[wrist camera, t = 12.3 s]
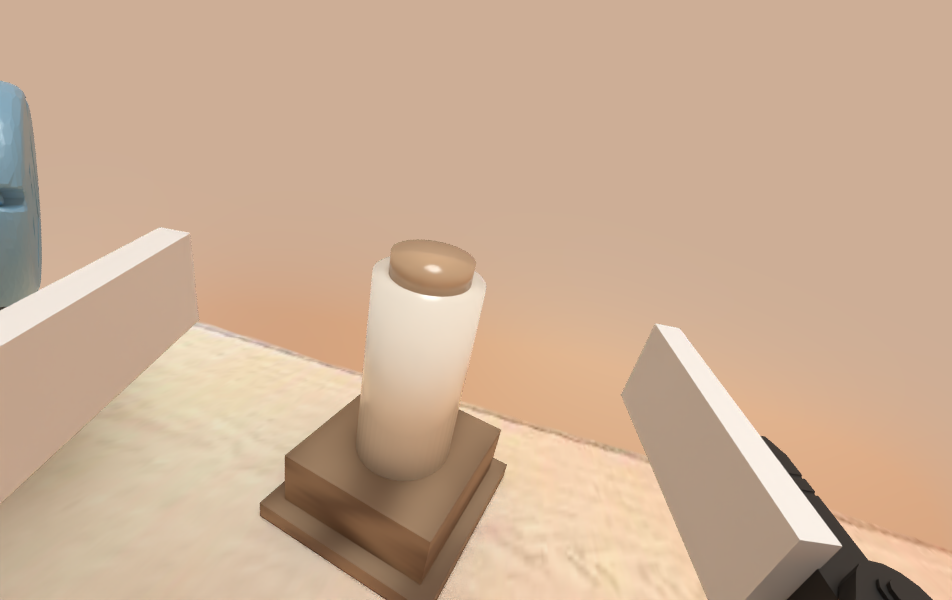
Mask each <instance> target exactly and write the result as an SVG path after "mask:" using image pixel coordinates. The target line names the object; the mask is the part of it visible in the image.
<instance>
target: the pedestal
mask: <svg viewBox="0 0 952 600" xmlns="http://www.w3.org/2000/svg"><path fill="white" fill-rule="evenodd" d="M360 396H361V394H360V395H359V396H357V397H356V398H355V399H354V400H353V401H351V402H350V403H349V404H348V405H346V406H345V407H344V408H343V409H342V410H340V411H339V412H338V413H337V414H335V415H334V416H333V417H332V418H330V419H329V420H328V421H327V422H326V423H324V424H323V425H322V426H321V427H319V428H318V429H317V430H316V431H315V432H313V433H312V434H311V435H310V436H308V437H307V438H306V439H305V440H303V441H302V442H301V443H300V444H299V445H297V446H296V447H295V448H294V449H292V450H291V451H290V452H289V453H288V454H286V455H285V481H284V482H283V483H282V484H281V485H280V486H279V487H277V488H276V489H275V490H274V491H273V492H272V493H271V494H269V495H268V496H267V497H266V498H265V499H264V500H263V501H262V502H260V516H262V517H263V518H265V519H266V520H268V521H269V522H271V523H272V524H274V525H275V526H277V527H278V528H280V529H281V530H283V531H284V532H286V533H287V534H289V535H290V536H292V537H293V538H295V539H296V540H298V541H299V542H301V543H302V544H304V545H305V546H307V547H308V548H310V549H311V550H313V551H314V552H316V553H317V554H319V555H320V556H322V557H323V558H325V559H326V560H328V561H329V562H331V563H332V564H334V565H335V566H337V567H338V568H340V569H341V570H343V571H344V572H346V573H347V574H349V575H350V576H352V577H353V578H355V579H356V580H358V581H359V582H361V583H362V584H364V585H366V586H367V587H369V588H370V589H372V590H373V591H375V592H376V593H378V594H379V595H381V596H382V597H384V598H385V599H387V600H437V598H438V597H439V595H440V593H441V591H442V589H443V587H444V585H445V583H446V582H447V580H448V578H449V576H450V574H451V572H452V570H453V569H454V567H455V565H456V563H457V561H458V559H459V557H460V556H461V554H462V552H463V550H464V548H465V546H466V544H467V543H468V541H469V539H470V537H471V535H472V533H473V531H474V530H475V528H476V526H477V524H478V522H479V520H480V518H481V517H482V515H483V513H484V511H485V509H486V507H487V505H488V503H489V502H490V500H491V498H492V496H493V494H494V492H495V490H496V489H497V487H498V485H499V483H500V481H501V479H502V477H503V476H504V472H505V469H506V466H507V465H506V464H504V463H503V462H501V461H499V460H497V459H495V458H493V456H494V452H495V449H496V445H497V442H498V439H499V435H500V432H501V430H500V429H498V428H496V427H494V426H492V425H490V424H488V423H486V422H484V421H482V420H480V419H478V418H476V417H473V416H471V415H469V414H467V413H465V412H463V411H461V410H458V414H457V419H456V423H455V427H454V432H453V436H452V440H451V445H450V449H449V454H448V456H447V459H446V461H445V462H444V464H443V465H442V466H441V467H440V468H439V469H438V470H437V471H436V472H434V473H433V474H431V475H429V476H427V477H424V478H421V479H417V480H411V481H398V480H392V479H388V478H385V477H382V476H380V475H377V474H376V473H374V472H372V471H371V470H370V469H368V468H367V467H366V466H365V465H364V464H363V462H362V461H361V459H360V458H359V456H358V453H357V450H356V438H357V427H358V417H359V407H360Z"/></svg>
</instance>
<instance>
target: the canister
mask: <svg viewBox="0 0 952 600" xmlns="http://www.w3.org/2000/svg"><path fill="white" fill-rule="evenodd" d="M475 266H476V261H475V259H474V258H473V257H472V256H471V255H470V254H469V253H468V252H466V251H464V250H462V249H460V248H458V247H456V246H453V245H450V244H446V243H442V242H437V241H431V240H407V241H402V242H399V243H397V244H395V245H394V246H393V247H392V248H391V255H390V257H387V258H384V259H382V260H380V261H379V262H377V263H376V264H375V266H374V268H373V273H372V283H371V293H370V303H369V314H368V324H367V335H366V345H365V355H364V366H363V376H362V386H361V396H360V407H359V417H358V427H357V438H356V450H357V453H358V456H359V458H360V459H361V461H362V462H363V464H364V465H365V466H366V467H367V468H368V469H370V470H371V471H372V472H374V473H376V474H377V475H380V476H382V477H385V478H388V479H392V480H398V481H411V480H417V479H421V478H424V477H427V476H429V475H431V474H433V473H434V472H436V471H437V470H438V469H439V468H440V467H441V466H442V465H443V464H444V462H445V461H446V459H447V456H448V454H449V449H450V445H451V440H452V436H453V432H454V427H455V423H456V419H457V414H458V410H459V405H460V401H461V396H462V392H463V388H464V383H465V379H466V374H467V370H468V366H469V362H470V357H471V353H472V349H473V344H474V340H475V335H476V331H477V327H478V322H479V318H480V314H481V309H482V305H483V301H484V296H485V292H486V283H485V281H484V279H483V278H482V277H481V276H480V275H479V274H478V273H477V272H476V271H475Z"/></svg>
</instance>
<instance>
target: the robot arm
mask: <svg viewBox="0 0 952 600" xmlns="http://www.w3.org/2000/svg"><path fill="white" fill-rule="evenodd" d="M25 98H26V97H25V95H24V93H23V91H22V90H20V89H19V88H18V87H17V86H15V85H13V84H10V83H7V82H3V81H0V504H1V503H2V502H3V501H4V500H5V499H6V498H7V497H8V496H10V495H11V494H12V493H13V492H14V491H15V490H16V489H17V488H18V487H19V486H20V485H21V484H22V483H24V482H25V481H26V480H27V479H28V478H29V477H30V476H31V475H32V474H33V473H34V472H35V471H37V470H38V469H39V468H40V467H41V466H42V465H43V464H44V463H45V462H46V461H47V460H48V459H50V458H51V457H52V456H53V455H54V454H55V453H56V452H57V451H58V450H59V449H60V448H61V447H62V446H64V445H65V444H66V443H67V442H68V441H69V440H70V439H71V438H72V437H73V436H74V435H75V434H77V433H78V432H79V431H80V430H81V429H82V428H83V427H84V426H85V425H86V424H87V423H88V422H89V421H91V420H92V419H93V418H94V417H95V416H96V415H97V414H98V413H99V412H100V411H101V410H102V409H104V408H105V407H106V406H107V405H108V404H109V403H110V402H111V401H112V400H113V399H114V398H115V397H116V396H118V395H119V394H120V393H121V392H122V391H123V390H124V389H125V388H126V387H127V386H128V385H129V384H131V383H132V382H133V381H134V380H135V379H136V378H137V377H138V376H139V375H140V374H141V373H142V372H144V371H145V370H146V369H147V368H148V367H149V366H150V365H151V364H152V363H153V362H154V361H155V360H156V359H158V358H159V357H160V356H161V355H162V354H163V353H164V352H165V351H166V350H167V349H168V348H169V347H171V346H172V345H173V344H174V343H175V342H176V341H177V340H178V339H179V338H180V337H181V336H182V335H183V334H185V333H186V332H187V331H188V330H189V329H190V328H191V327H192V326H193V325H194V324H195V323H196V322H198V321H199V316H198V306H197V296H196V286H195V276H194V266H193V256H192V247H191V236H190V233H187V232H182V231H176V230H172V229H167V228H161V227H160V228H158V229H156V230H154V231H152V232H150V233H148V234H146V235H144V236H142V237H140V238H139V239H137V240H135V241H133V242H131V243H129V244H127V245H125V246H123V247H121V248H119V249H117V250H115V251H114V252H112V253H110V254H108V255H106V256H104V257H102V258H100V259H98V260H96V261H94V262H92V263H90V264H89V265H87V266H85V267H83V268H81V269H79V270H77V271H75V272H74V273H72V274H70V275H67V276H66V277H64V278H62V279H60V280H58V281H56V282H54V283H52V284H50V285H48V286H46V287H44V288H43V289H41V290H39V291H38V289H39V287H40V282H41V264H42V252H41V251H42V247H41V219H40V202H39V187H38V176H37V164H36V153H35V144H34V135H33V127H32V120H31V114H30V110H29V106H28V103H27V101H26V99H25ZM621 396H622V398H623V401H624V403H625V406H626V408H627V410H628V413H629V415H630V417H631V420H632V422H633V424H634V427H635V429H636V431H637V434H638V436H639V439H640V441H641V443H642V446H643V448H644V450H645V453H646V455H647V457H648V460H649V462H650V465H651V467H652V469H653V472H654V474H655V476H656V479H657V481H658V483H659V486H660V488H661V490H662V493H663V495H664V498H665V500H666V502H667V505H668V507H669V509H670V512H671V514H672V516H673V519H674V521H675V524H676V526H677V528H678V531H679V533H680V535H681V538H682V540H683V542H684V545H685V547H686V549H687V552H688V554H689V557H690V559H691V561H692V564H693V566H694V568H695V571H696V573H697V575H698V578H699V580H700V582H701V585H702V587H703V590H704V592H705V594H706V597H707V599H708V600H933V599H932V598H931V597H930V596H928V595H927V594H926V593H925V592H924V591H923V590H922V589H921V588H920V587H919V586H918V585H916V584H915V583H914V582H912V581H911V580H910V579H908V578H907V577H905V576H904V575H903V574H901V573H900V572H898V571H896V570H894V569H892V568H890V567H888V566H886V565H884V564H881V563H877V562H873V561H868V559H867V558H866V557H865V555H864V554H863V553H862V552H861V550H860V549H859V548H858V546H857V545H856V544H855V543H854V541H853V540H852V539H851V537H850V536H849V535H848V534H847V532H846V531H845V530H844V528H843V527H842V526H841V525H840V523H839V522H838V521H837V519H836V518H835V517H834V516H833V514H832V513H831V512H830V511H829V509H828V508H827V507H826V505H825V504H824V503H823V502H822V501H821V499H820V498H819V497H818V496H815V494H814V493H815V491H814V490H813V489H812V487H811V486H810V485H809V484H808V482H807V481H806V480H805V479H802V477H801V476H802V475H801V473H800V472H799V471H798V470H797V468H796V467H795V466H794V464H793V463H792V462H791V461H790V459H789V458H788V457H787V455H786V454H785V453H783V452H782V451H781V450H780V449H779V448H778V447H776V446H775V445H774V444H773V443H772V442H771V441H770V440H768V439H767V438H766V437H764V436H760V435H759V434H758V433H757V431H756V430H755V429H754V427H753V426H752V424H751V423H750V422H749V420H748V419H747V418H746V416H745V415H744V414H743V412H742V411H741V410H740V408H739V407H738V406H737V404H736V403H735V402H734V400H733V399H732V398H731V396H730V395H729V394H728V392H727V391H726V390H725V388H724V387H723V386H722V385H721V383H720V382H719V380H718V379H717V378H716V376H715V375H714V374H713V372H712V371H711V370H710V368H709V367H708V366H707V364H706V363H705V362H704V360H703V359H702V358H701V356H700V355H699V354H698V352H697V351H696V350H695V348H694V347H693V346H692V344H691V343H690V342H689V340H688V339H687V338H686V336H685V335H684V334H683V332H682V331H681V330H680V329H679V328H675V327H670V326H665V325H660V324H655V325H654V327H653V329H652V331H651V333H650V336H649V337H648V340H647V342H646V344H645V346H644V348H643V350H642V352H641V354H640V356H639V358H638V360H637V363H636V364H635V367H634V369H633V371H632V373H631V375H630V377H629V379H628V381H627V383H626V385H625V388H624V390H623V392H622V394H621Z"/></svg>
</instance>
